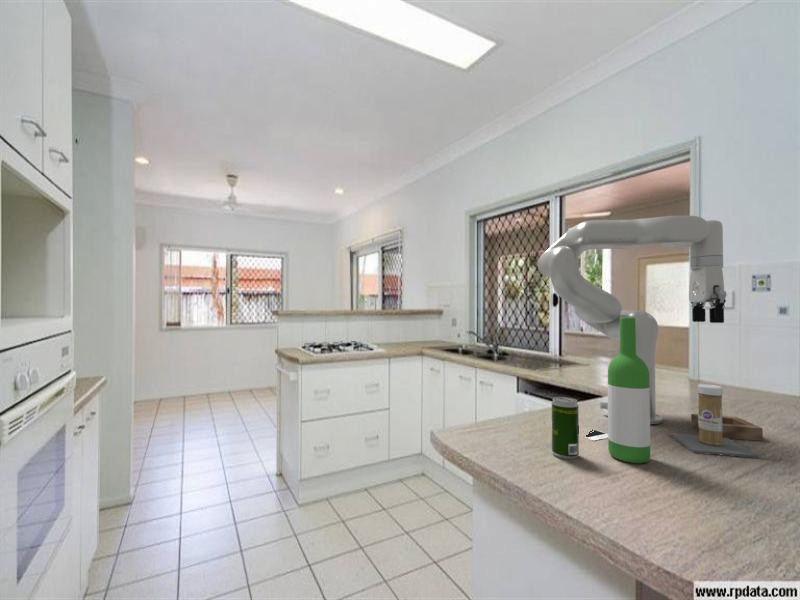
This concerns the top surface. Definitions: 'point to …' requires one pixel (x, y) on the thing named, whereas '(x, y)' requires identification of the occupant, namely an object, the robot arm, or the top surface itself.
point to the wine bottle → (628, 400)
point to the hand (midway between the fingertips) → (707, 322)
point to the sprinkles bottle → (710, 414)
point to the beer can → (565, 428)
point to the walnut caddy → (735, 428)
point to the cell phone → (596, 435)
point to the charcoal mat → (725, 449)
